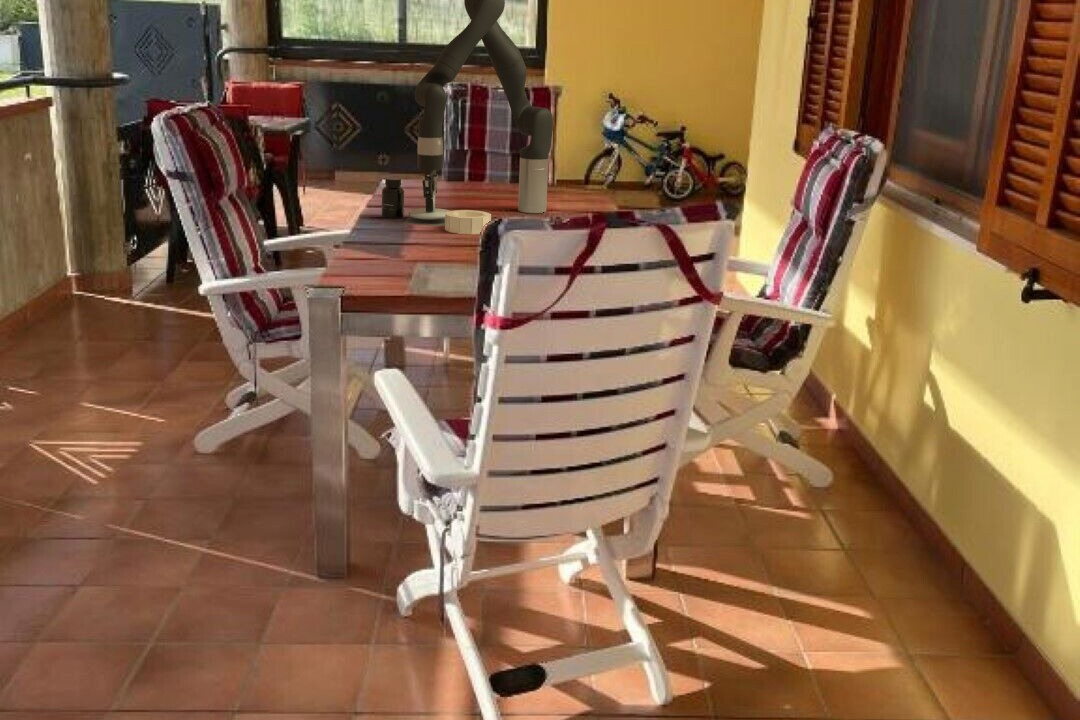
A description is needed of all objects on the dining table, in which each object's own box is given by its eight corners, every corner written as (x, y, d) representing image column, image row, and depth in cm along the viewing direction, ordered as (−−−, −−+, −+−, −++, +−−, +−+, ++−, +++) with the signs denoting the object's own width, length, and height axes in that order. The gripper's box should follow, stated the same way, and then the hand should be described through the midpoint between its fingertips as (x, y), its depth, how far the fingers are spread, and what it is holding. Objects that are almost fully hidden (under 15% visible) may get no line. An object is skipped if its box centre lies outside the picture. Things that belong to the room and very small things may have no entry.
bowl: (448, 225, 313) (449, 209, 312) (492, 228, 313) (492, 211, 311) (442, 234, 301) (442, 216, 299) (487, 236, 300) (488, 219, 299)
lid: (412, 210, 324) (412, 191, 322) (454, 212, 323) (454, 192, 321) (405, 218, 312) (404, 198, 310) (448, 220, 311) (448, 199, 309)
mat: (410, 217, 325) (410, 215, 325) (455, 219, 324) (455, 218, 324) (402, 225, 311) (402, 223, 311) (449, 227, 311) (449, 226, 311)
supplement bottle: (383, 220, 318) (382, 180, 314) (380, 216, 324) (380, 176, 321) (405, 219, 320) (405, 180, 316) (402, 215, 326) (402, 177, 323)
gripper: (439, 155, 305) (439, 215, 310) (446, 150, 318) (446, 207, 323) (413, 154, 305) (413, 214, 311) (421, 149, 318) (422, 206, 324)
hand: (430, 210), depth 317 cm, fingers closed on lid, 2 cm apart
